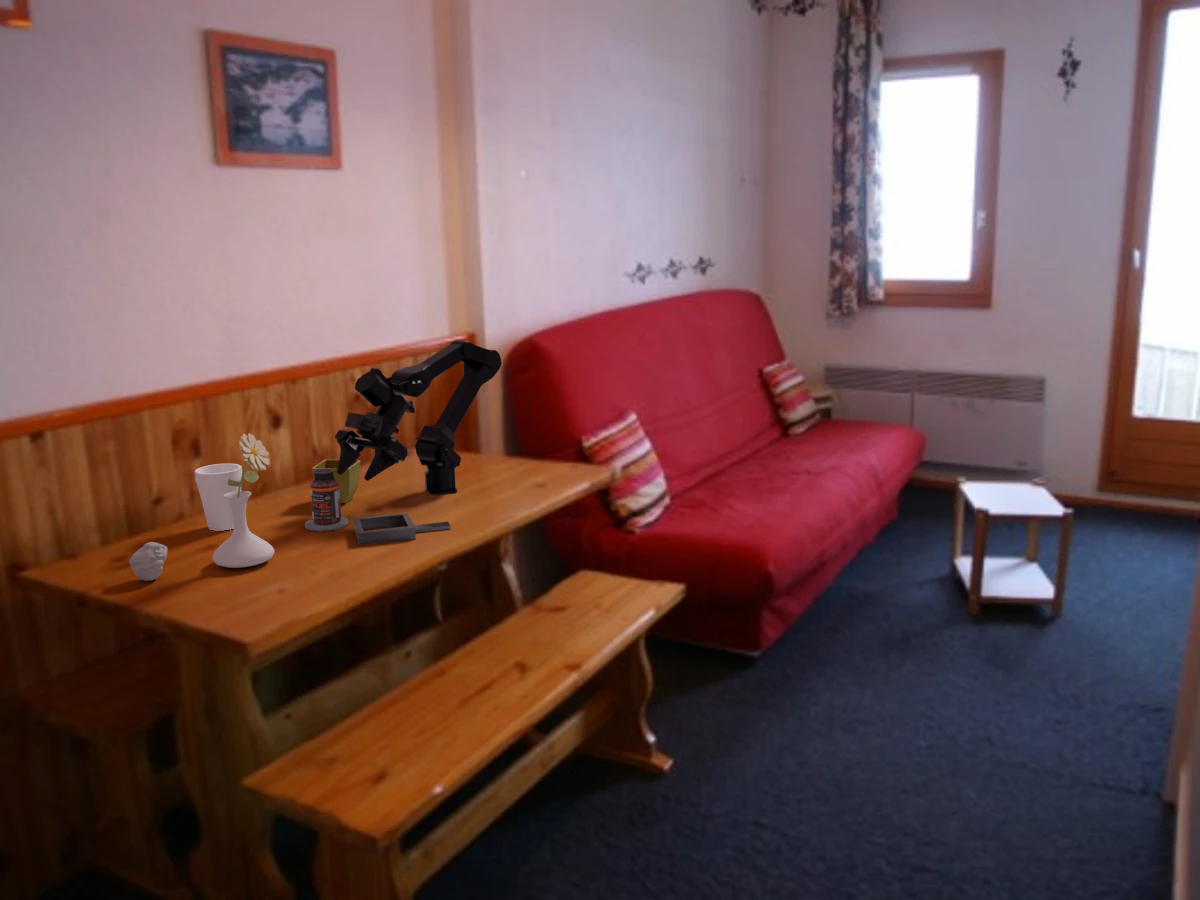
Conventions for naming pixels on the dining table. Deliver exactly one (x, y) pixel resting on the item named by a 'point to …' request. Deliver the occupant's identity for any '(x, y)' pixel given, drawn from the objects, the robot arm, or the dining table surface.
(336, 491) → the supplement bottle
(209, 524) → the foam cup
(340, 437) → the robot arm
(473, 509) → the dining table surface
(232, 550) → the flower in vase
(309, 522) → the coaster
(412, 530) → the square pan with handle
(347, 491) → the flower pot
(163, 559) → the lumpy white ball
